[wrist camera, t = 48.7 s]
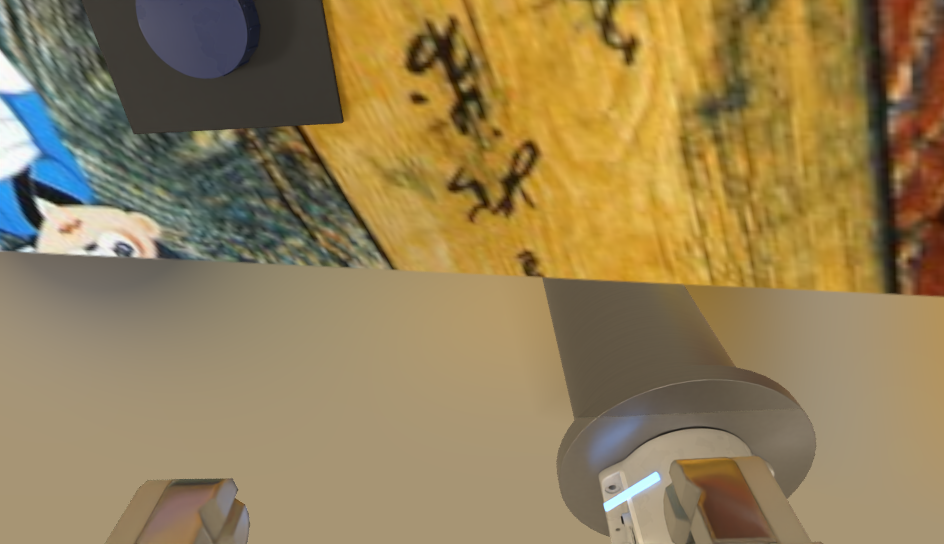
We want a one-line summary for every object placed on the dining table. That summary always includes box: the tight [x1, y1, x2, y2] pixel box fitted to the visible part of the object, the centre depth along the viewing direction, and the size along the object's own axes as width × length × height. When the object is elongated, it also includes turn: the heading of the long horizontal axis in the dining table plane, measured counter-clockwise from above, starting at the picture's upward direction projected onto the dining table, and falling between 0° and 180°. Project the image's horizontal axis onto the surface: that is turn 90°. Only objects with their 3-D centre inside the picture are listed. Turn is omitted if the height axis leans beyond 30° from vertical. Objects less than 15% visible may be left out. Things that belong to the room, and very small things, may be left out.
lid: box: [136, 0, 261, 79], centre depth 31 cm, size 6×6×2 cm
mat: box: [82, 0, 343, 134], centre depth 32 cm, size 14×14×1 cm
